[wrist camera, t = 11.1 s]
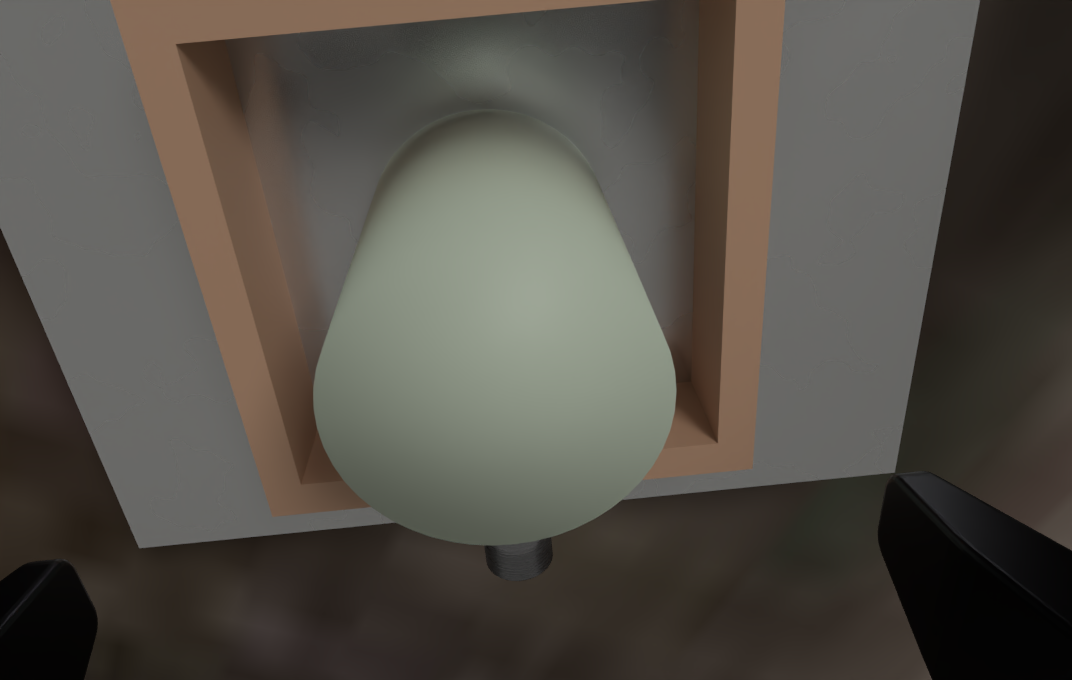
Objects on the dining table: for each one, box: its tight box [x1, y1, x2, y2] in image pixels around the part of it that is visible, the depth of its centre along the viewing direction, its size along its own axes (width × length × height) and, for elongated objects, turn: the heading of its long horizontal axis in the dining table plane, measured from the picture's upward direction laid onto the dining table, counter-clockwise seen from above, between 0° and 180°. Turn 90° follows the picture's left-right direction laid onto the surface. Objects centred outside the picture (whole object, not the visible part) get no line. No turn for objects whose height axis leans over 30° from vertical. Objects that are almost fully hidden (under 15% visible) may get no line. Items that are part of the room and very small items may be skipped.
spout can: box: [313, 109, 677, 581], centre depth 15 cm, size 5×7×7 cm
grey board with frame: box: [0, 0, 980, 548], centre depth 17 cm, size 20×16×6 cm
